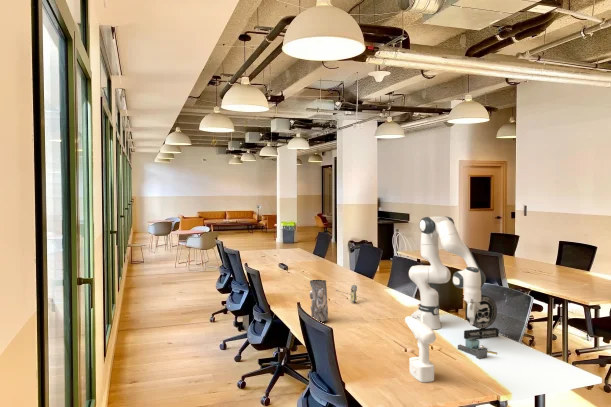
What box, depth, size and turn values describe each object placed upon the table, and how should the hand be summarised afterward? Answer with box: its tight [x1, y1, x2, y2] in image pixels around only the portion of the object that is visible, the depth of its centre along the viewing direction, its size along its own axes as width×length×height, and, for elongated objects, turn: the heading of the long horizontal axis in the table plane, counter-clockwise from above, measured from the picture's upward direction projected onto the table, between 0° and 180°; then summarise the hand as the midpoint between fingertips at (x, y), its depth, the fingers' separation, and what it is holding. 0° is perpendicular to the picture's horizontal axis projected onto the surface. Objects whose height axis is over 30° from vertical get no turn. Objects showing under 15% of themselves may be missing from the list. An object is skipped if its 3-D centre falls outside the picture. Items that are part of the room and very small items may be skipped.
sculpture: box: [309, 279, 329, 323], centre depth 301 cm, size 12×12×28 cm
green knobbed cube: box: [465, 338, 480, 349], centre depth 248 cm, size 5×5×5 cm
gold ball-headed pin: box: [487, 349, 498, 355], centre depth 240 cm, size 7×2×1 cm, turn 54°
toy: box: [335, 283, 366, 303], centre depth 353 cm, size 10×26×15 cm, turn 106°
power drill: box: [404, 316, 437, 383], centre depth 212 cm, size 8×24×25 cm, turn 13°
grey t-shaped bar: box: [457, 344, 488, 360], centre depth 239 cm, size 16×6×6 cm, turn 29°
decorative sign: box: [463, 294, 500, 340], centre depth 265 cm, size 22×3×25 cm, turn 105°
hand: (472, 322), depth 247 cm, fingers open, 6 cm apart
